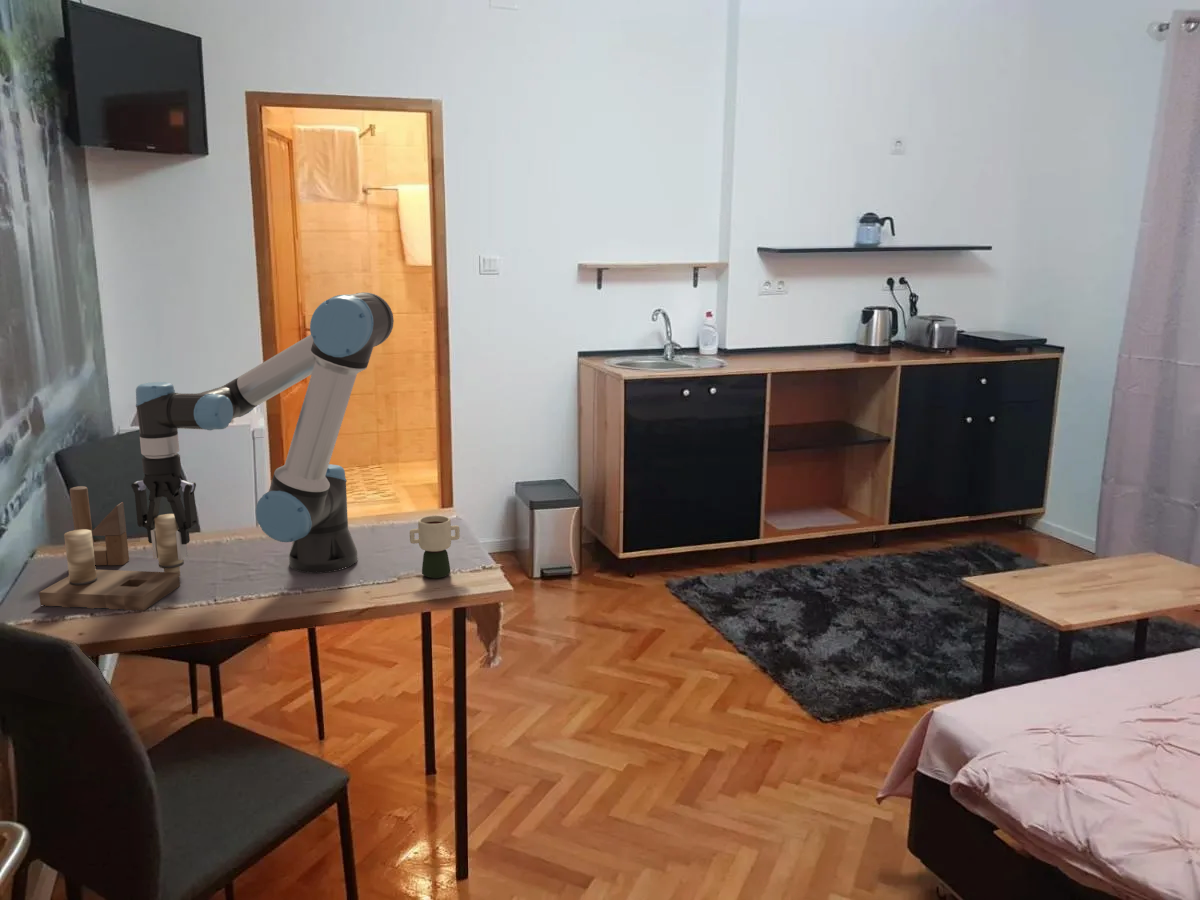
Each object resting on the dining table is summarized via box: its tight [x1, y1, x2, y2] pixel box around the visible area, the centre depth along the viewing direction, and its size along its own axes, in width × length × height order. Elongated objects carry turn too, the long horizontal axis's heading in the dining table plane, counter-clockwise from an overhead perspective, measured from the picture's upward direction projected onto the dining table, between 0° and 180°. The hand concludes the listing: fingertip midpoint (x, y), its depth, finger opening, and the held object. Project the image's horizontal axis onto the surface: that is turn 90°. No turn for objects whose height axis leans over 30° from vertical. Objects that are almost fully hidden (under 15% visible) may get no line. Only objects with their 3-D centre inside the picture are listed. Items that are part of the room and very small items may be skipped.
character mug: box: [409, 514, 461, 579], centre depth 212 cm, size 11×7×13 cm, turn 108°
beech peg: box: [154, 513, 185, 577], centre depth 211 cm, size 5×5×14 cm
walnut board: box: [38, 529, 181, 612], centre depth 199 cm, size 22×14×14 cm, turn 85°
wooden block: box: [69, 485, 130, 566], centre depth 218 cm, size 4×11×18 cm, turn 95°
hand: (170, 557), depth 212 cm, fingers closed on beech peg, 5 cm apart
